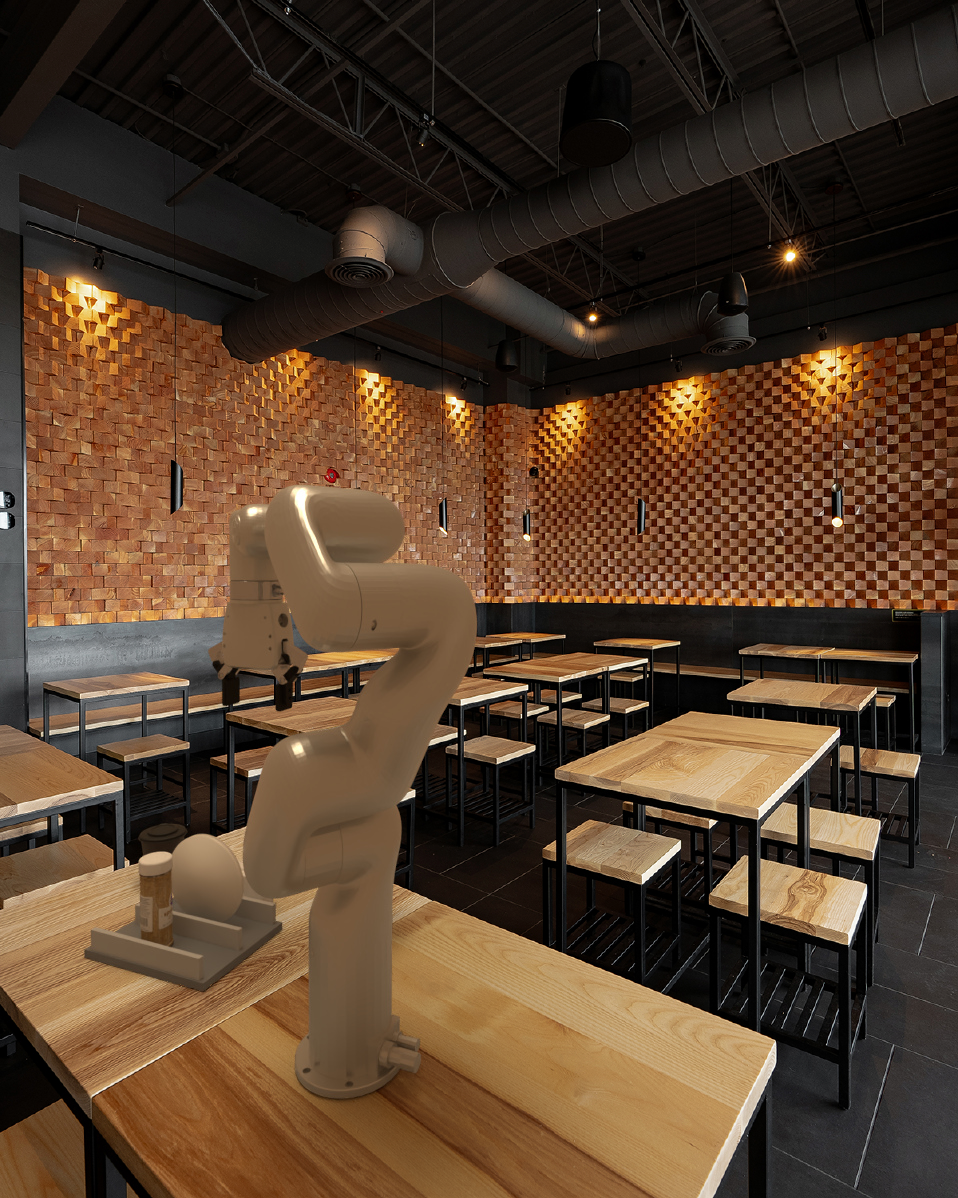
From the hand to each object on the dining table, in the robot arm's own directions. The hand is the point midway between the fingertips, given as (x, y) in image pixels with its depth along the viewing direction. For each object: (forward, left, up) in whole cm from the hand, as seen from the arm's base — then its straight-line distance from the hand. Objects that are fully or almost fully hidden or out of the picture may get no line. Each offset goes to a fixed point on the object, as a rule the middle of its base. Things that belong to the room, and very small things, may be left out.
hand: (257, 707), depth 102 cm
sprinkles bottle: (+12, +8, -35) cm, 38 cm away
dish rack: (+10, +4, -36) cm, 38 cm away
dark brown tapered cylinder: (+29, -10, -36) cm, 48 cm away
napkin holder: (+11, -11, -37) cm, 40 cm away
